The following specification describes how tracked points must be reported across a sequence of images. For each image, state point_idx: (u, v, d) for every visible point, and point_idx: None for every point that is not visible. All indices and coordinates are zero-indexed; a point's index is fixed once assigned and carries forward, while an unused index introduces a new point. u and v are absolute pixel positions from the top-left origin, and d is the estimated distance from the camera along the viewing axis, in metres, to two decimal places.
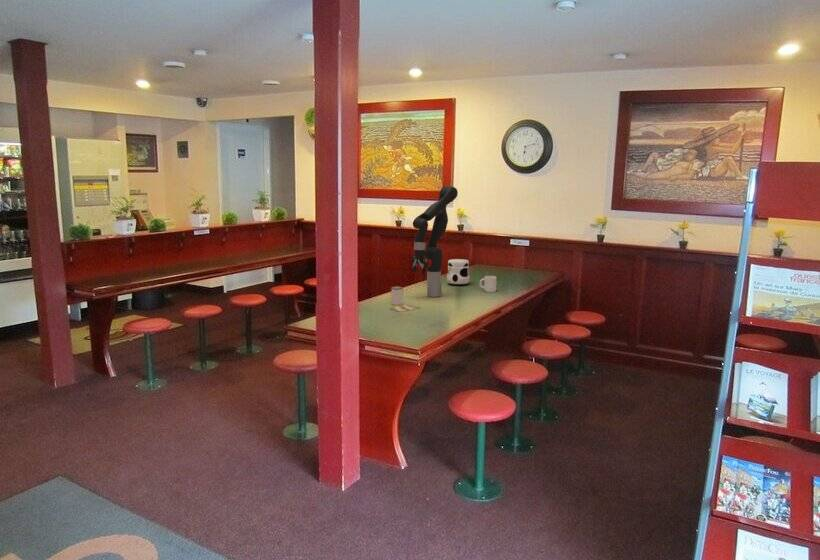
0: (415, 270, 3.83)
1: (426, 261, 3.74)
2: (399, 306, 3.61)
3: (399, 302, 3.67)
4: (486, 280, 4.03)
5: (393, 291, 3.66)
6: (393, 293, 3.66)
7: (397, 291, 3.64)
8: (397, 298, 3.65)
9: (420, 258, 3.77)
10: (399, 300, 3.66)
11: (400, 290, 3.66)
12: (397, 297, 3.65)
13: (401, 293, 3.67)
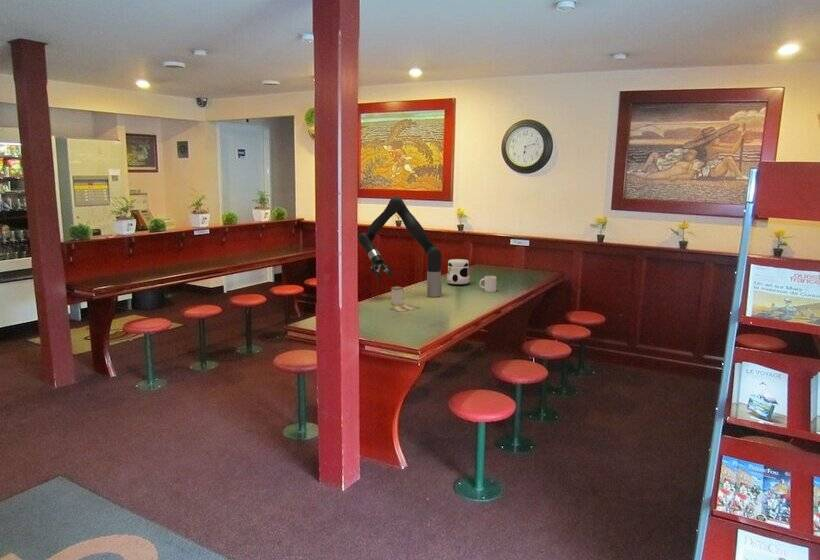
0: (389, 275, 3.77)
1: (371, 267, 3.73)
2: (399, 306, 3.61)
3: (399, 302, 3.67)
4: (486, 280, 4.03)
5: (393, 291, 3.66)
6: (393, 293, 3.66)
7: (397, 291, 3.64)
8: (397, 298, 3.65)
9: None
10: (399, 300, 3.66)
11: (400, 290, 3.66)
12: (397, 297, 3.65)
13: (401, 293, 3.67)
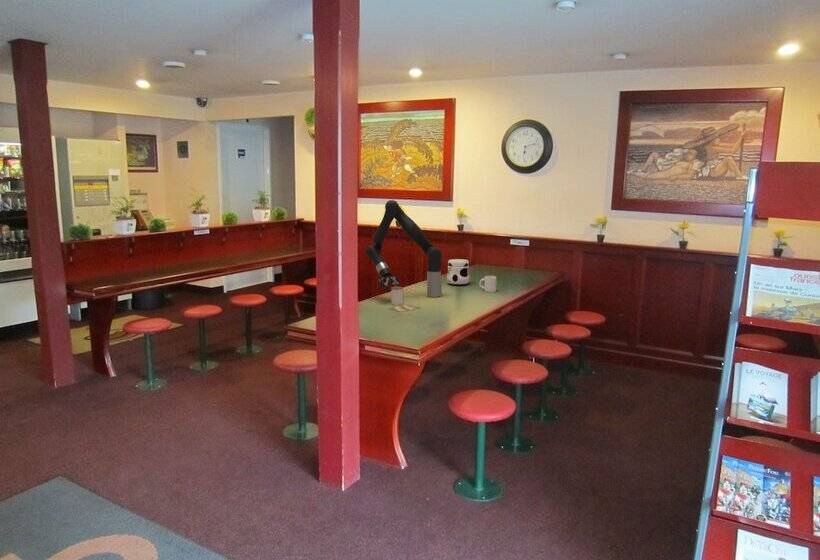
0: None
1: (380, 280, 3.69)
2: (399, 306, 3.61)
3: (399, 302, 3.67)
4: (486, 280, 4.03)
5: (393, 291, 3.66)
6: (393, 293, 3.66)
7: (397, 291, 3.64)
8: (397, 298, 3.65)
9: None
10: (399, 300, 3.66)
11: (400, 290, 3.66)
12: (397, 297, 3.65)
13: (401, 293, 3.67)
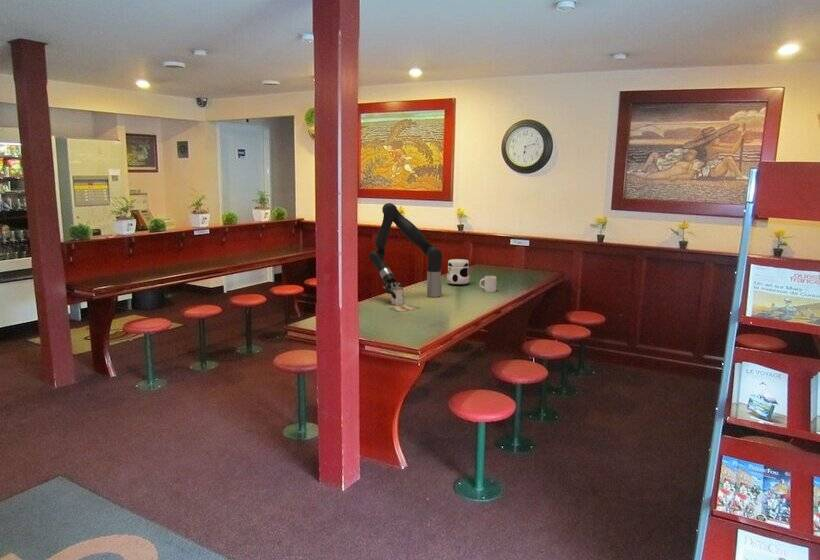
0: None
1: (385, 287, 3.66)
2: (399, 306, 3.61)
3: (399, 302, 3.67)
4: (486, 280, 4.03)
5: (393, 291, 3.66)
6: None
7: (397, 291, 3.64)
8: (397, 298, 3.65)
9: None
10: (399, 300, 3.66)
11: (400, 290, 3.66)
12: (397, 297, 3.65)
13: (401, 293, 3.67)
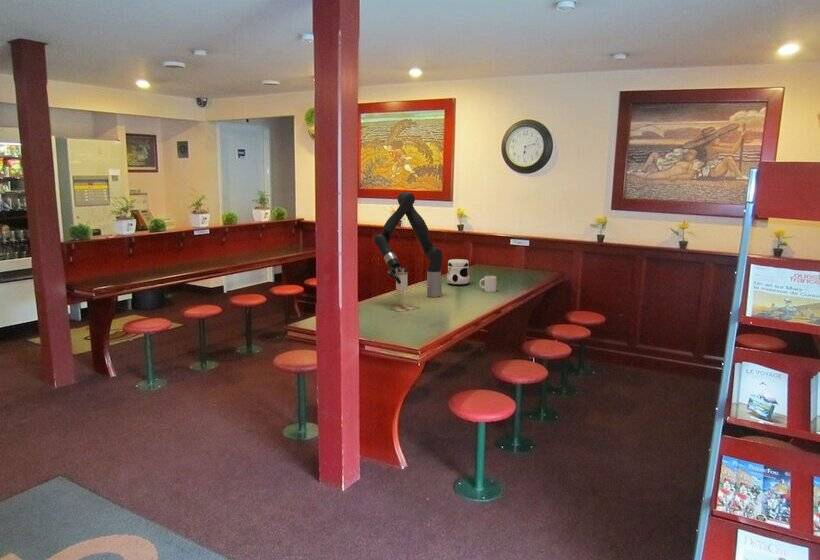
0: None
1: (389, 272, 3.54)
2: (399, 306, 3.61)
3: (404, 288, 3.55)
4: (486, 280, 4.03)
5: (398, 276, 3.54)
6: None
7: (402, 276, 3.52)
8: (402, 283, 3.53)
9: None
10: (403, 285, 3.54)
11: (405, 275, 3.54)
12: (401, 282, 3.53)
13: (406, 278, 3.55)
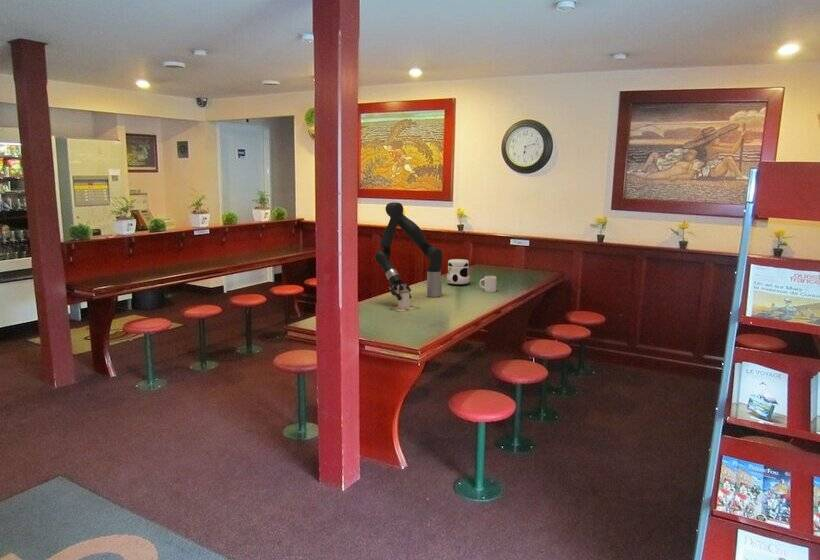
0: None
1: (390, 288, 3.54)
2: None
3: (406, 306, 3.55)
4: (486, 280, 4.03)
5: (400, 295, 3.54)
6: None
7: (404, 295, 3.53)
8: (404, 302, 3.54)
9: None
10: (406, 303, 3.55)
11: (407, 294, 3.54)
12: (403, 301, 3.53)
13: (408, 297, 3.55)
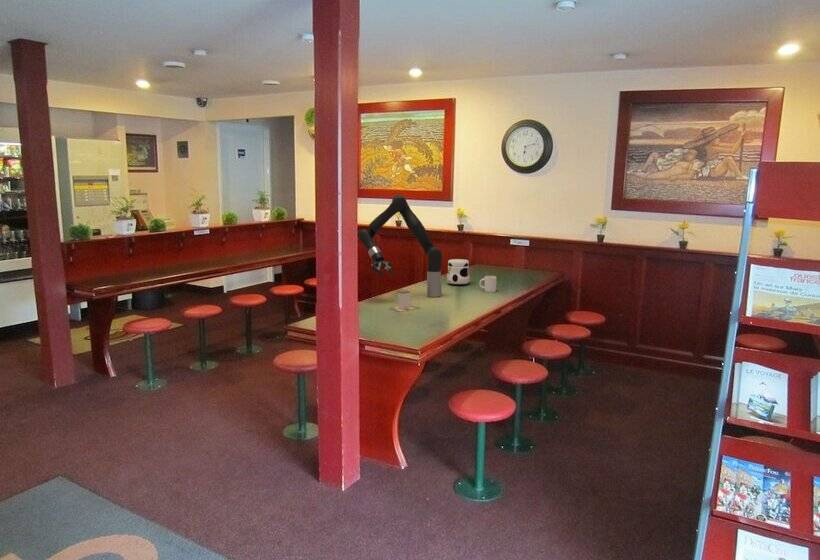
0: (390, 272, 3.70)
1: (372, 265, 3.66)
2: None
3: (406, 306, 3.55)
4: (486, 280, 4.03)
5: (400, 295, 3.54)
6: (400, 297, 3.55)
7: (404, 295, 3.53)
8: (404, 302, 3.54)
9: None
10: (406, 303, 3.55)
11: (407, 294, 3.54)
12: (403, 301, 3.53)
13: (408, 297, 3.55)
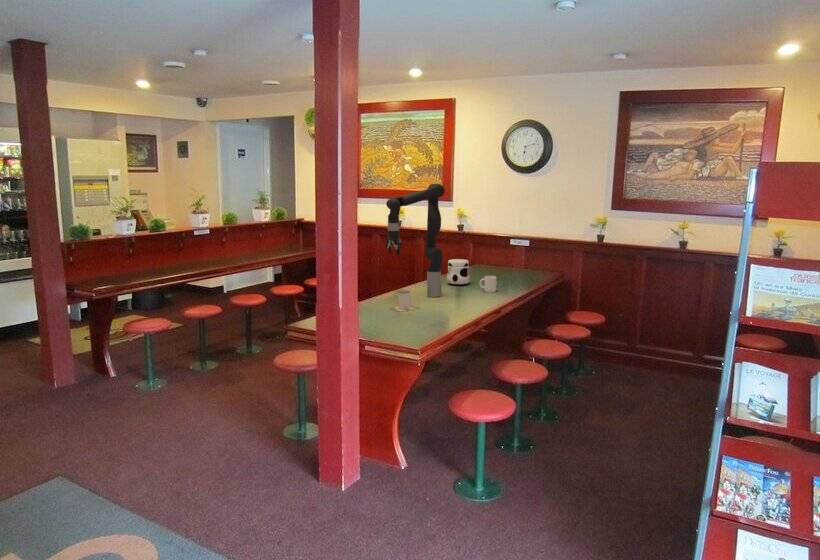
0: (390, 251, 3.78)
1: (400, 242, 3.69)
2: None
3: (406, 306, 3.55)
4: (486, 280, 4.03)
5: (400, 295, 3.54)
6: (400, 297, 3.55)
7: (404, 295, 3.53)
8: (404, 302, 3.54)
9: (394, 239, 3.71)
10: (406, 303, 3.55)
11: (407, 294, 3.54)
12: (403, 301, 3.53)
13: (408, 297, 3.55)
